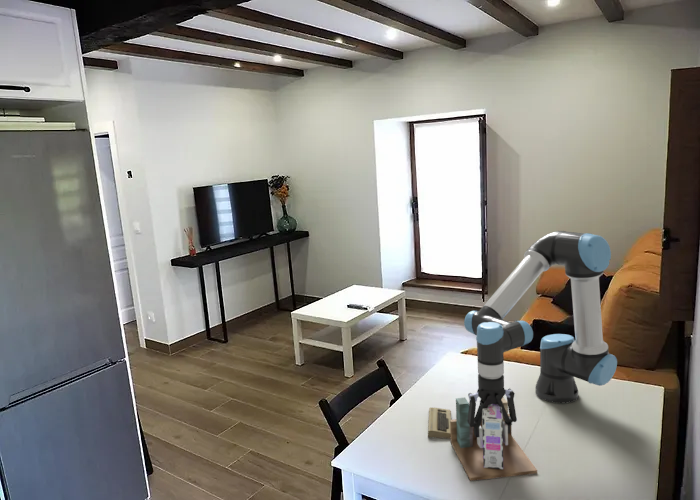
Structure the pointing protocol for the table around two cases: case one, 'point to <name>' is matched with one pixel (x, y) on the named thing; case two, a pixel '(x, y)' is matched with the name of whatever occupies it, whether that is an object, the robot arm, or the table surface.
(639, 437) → the table surface
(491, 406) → the candy box
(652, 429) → the table surface
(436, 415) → the computer
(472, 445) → the shelf
